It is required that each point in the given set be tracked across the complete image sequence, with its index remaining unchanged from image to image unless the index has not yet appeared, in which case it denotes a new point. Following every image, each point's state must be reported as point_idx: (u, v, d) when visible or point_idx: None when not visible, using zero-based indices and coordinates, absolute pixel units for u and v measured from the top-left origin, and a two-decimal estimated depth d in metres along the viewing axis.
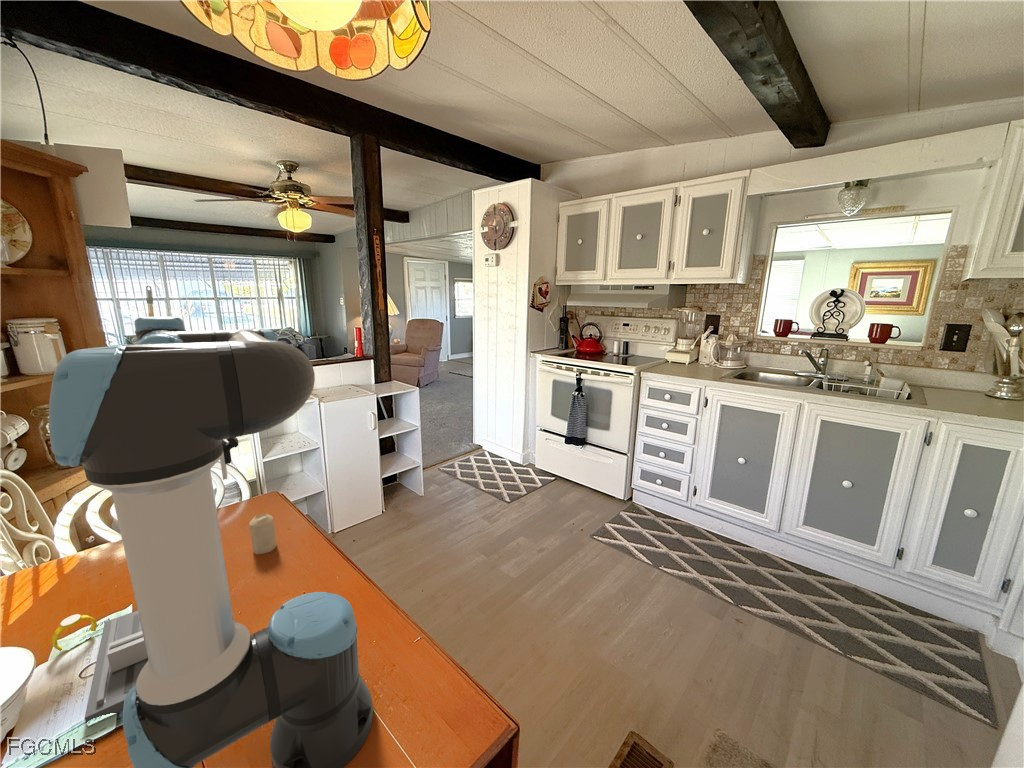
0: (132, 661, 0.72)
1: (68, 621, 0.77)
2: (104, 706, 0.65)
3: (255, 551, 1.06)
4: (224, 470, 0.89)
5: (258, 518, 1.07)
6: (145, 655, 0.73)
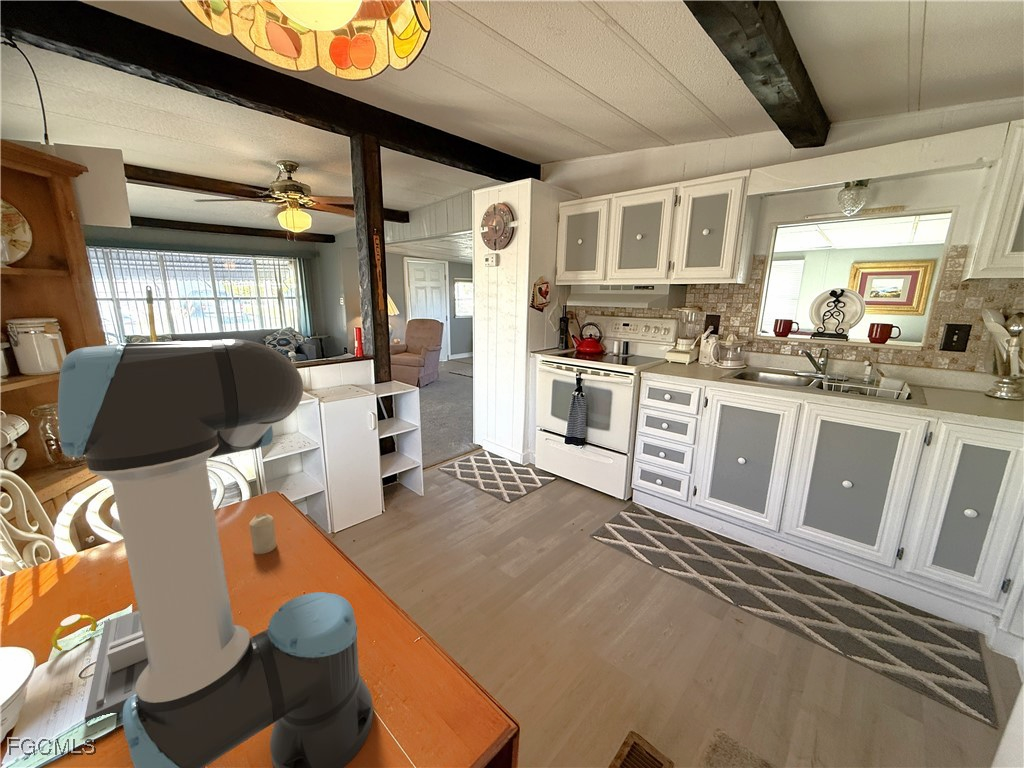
0: (132, 661, 0.72)
1: (68, 621, 0.77)
2: (104, 706, 0.65)
3: (255, 551, 1.06)
4: None
5: (258, 518, 1.07)
6: (145, 655, 0.73)
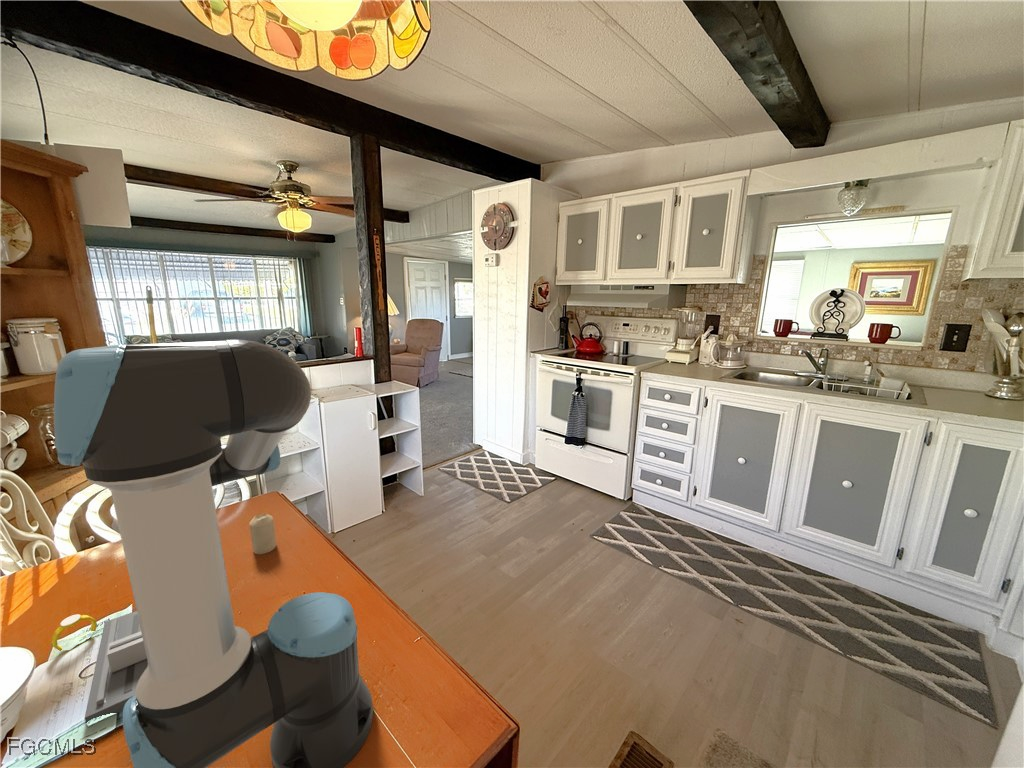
0: (132, 661, 0.72)
1: (68, 621, 0.77)
2: (104, 706, 0.65)
3: (255, 551, 1.06)
4: None
5: (258, 518, 1.07)
6: (145, 655, 0.73)
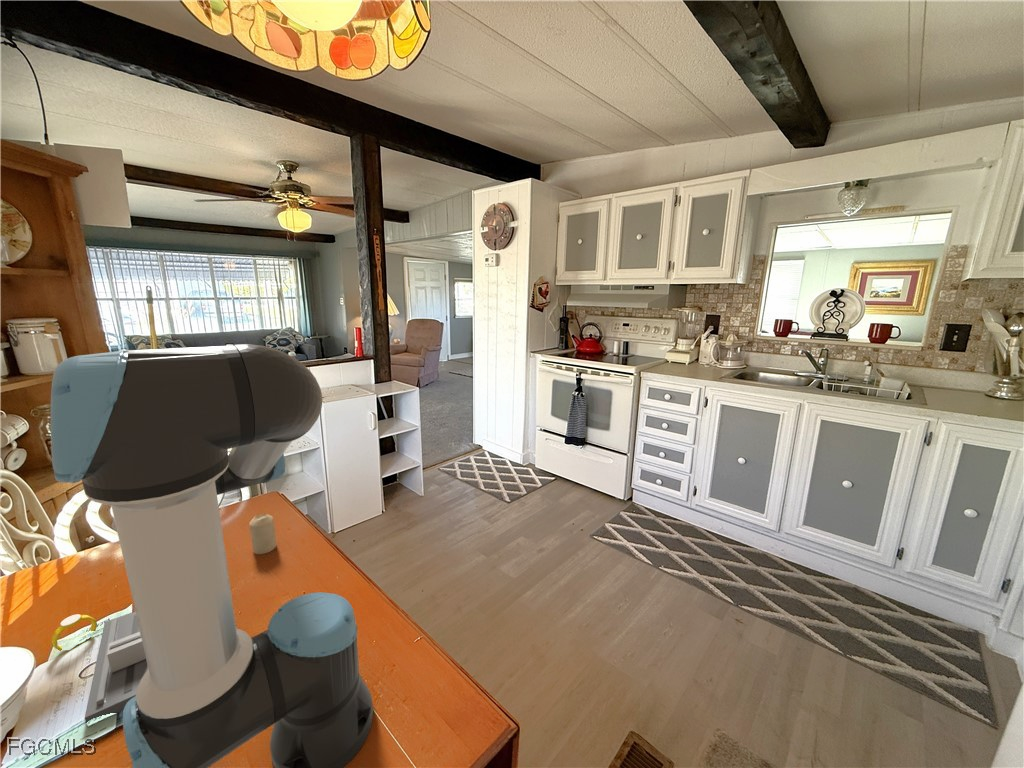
0: (132, 661, 0.72)
1: (68, 621, 0.77)
2: (104, 706, 0.65)
3: (255, 551, 1.06)
4: None
5: (258, 518, 1.07)
6: None
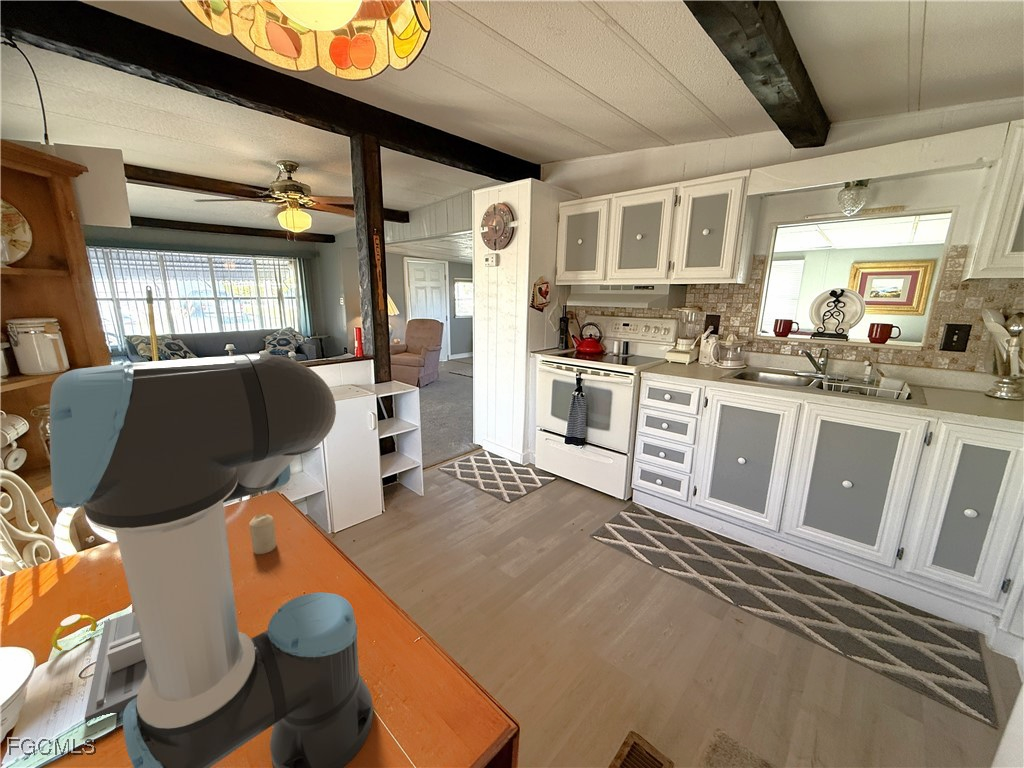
0: (132, 661, 0.72)
1: (68, 621, 0.77)
2: (104, 706, 0.65)
3: (255, 551, 1.06)
4: None
5: (258, 518, 1.07)
6: None
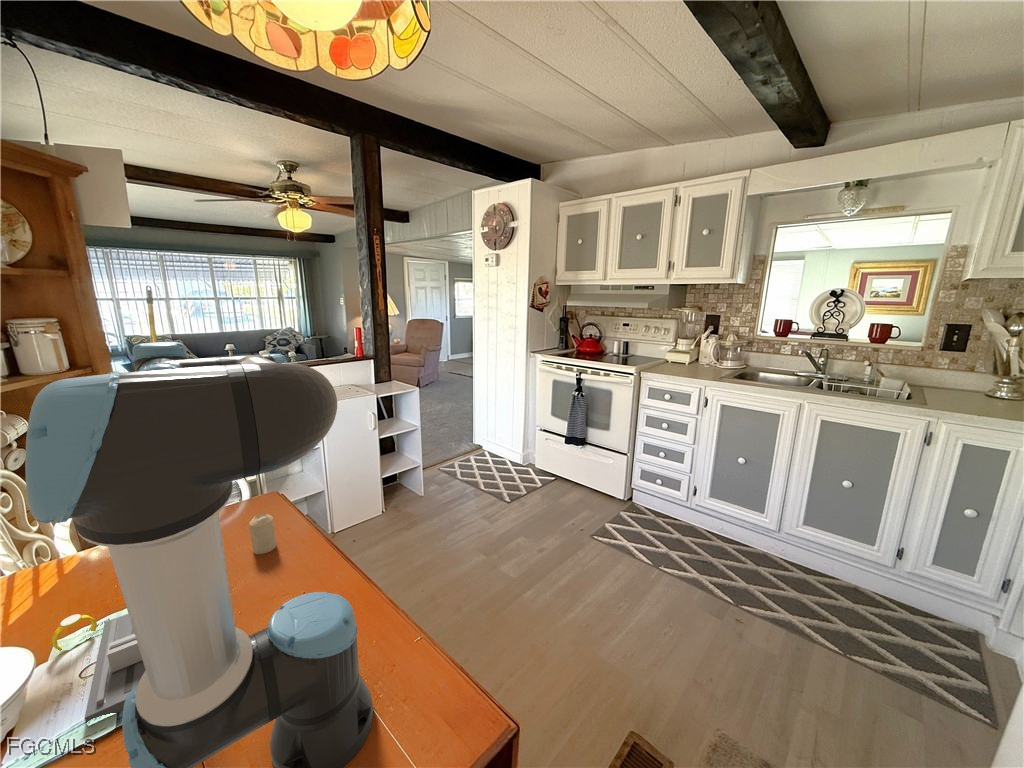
0: (132, 661, 0.72)
1: (68, 621, 0.77)
2: (104, 706, 0.65)
3: (255, 551, 1.06)
4: None
5: (258, 518, 1.07)
6: None
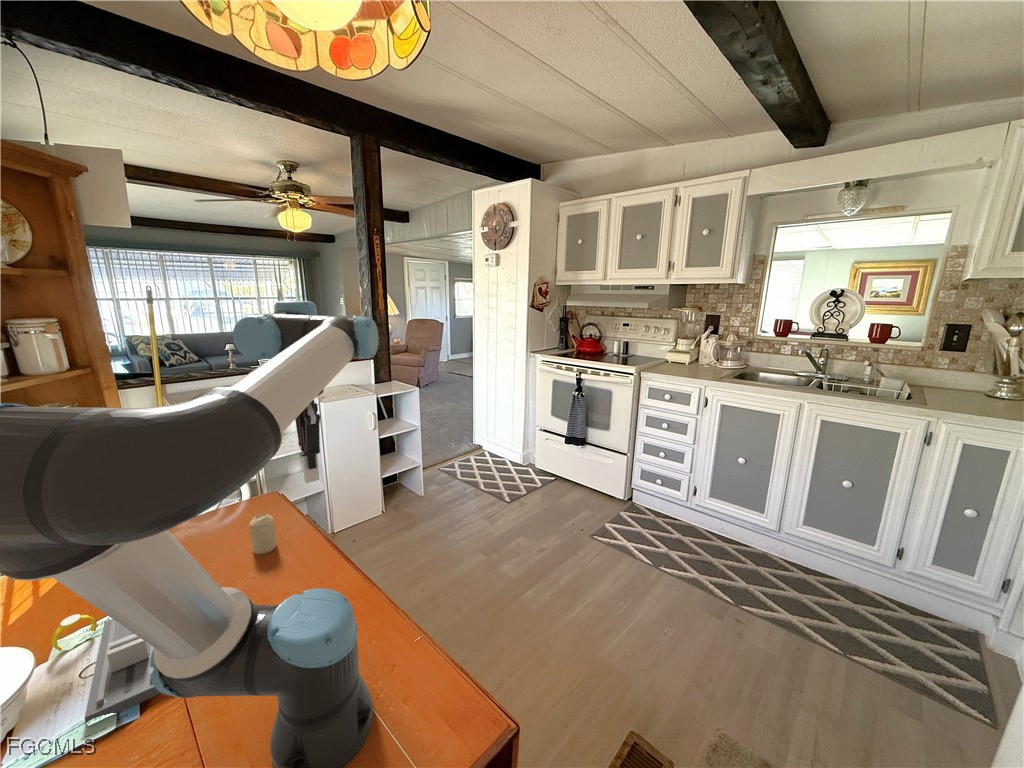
0: (132, 661, 0.72)
1: (68, 621, 0.77)
2: (104, 706, 0.65)
3: (255, 551, 1.06)
4: (305, 473, 0.85)
5: (258, 518, 1.07)
6: (145, 655, 0.73)
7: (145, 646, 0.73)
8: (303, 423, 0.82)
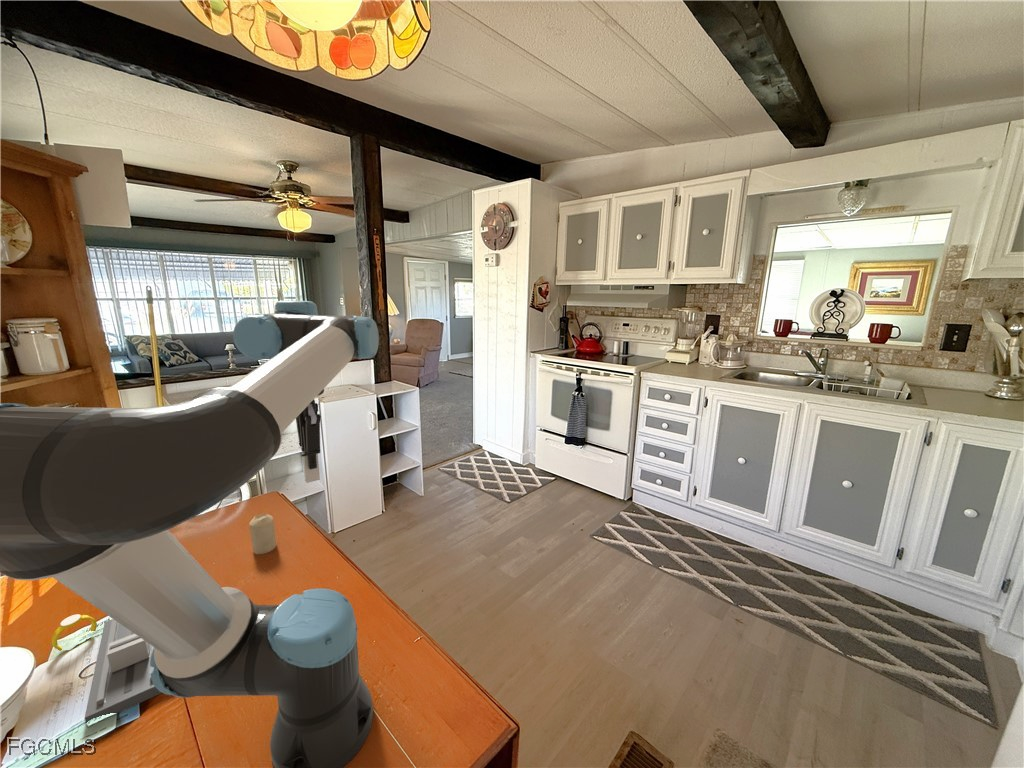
0: (132, 661, 0.72)
1: (68, 621, 0.77)
2: (104, 706, 0.65)
3: (255, 551, 1.06)
4: (305, 473, 0.85)
5: (258, 518, 1.07)
6: (145, 655, 0.73)
7: (145, 646, 0.73)
8: (303, 423, 0.82)
